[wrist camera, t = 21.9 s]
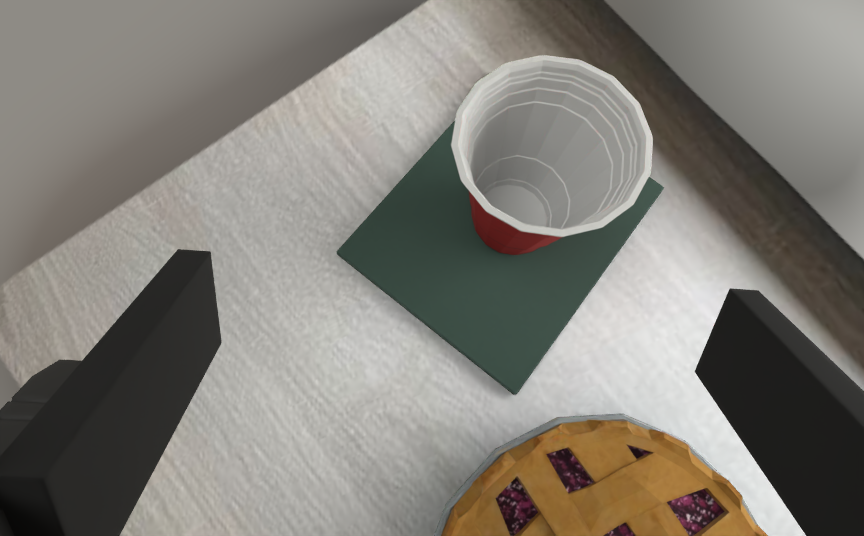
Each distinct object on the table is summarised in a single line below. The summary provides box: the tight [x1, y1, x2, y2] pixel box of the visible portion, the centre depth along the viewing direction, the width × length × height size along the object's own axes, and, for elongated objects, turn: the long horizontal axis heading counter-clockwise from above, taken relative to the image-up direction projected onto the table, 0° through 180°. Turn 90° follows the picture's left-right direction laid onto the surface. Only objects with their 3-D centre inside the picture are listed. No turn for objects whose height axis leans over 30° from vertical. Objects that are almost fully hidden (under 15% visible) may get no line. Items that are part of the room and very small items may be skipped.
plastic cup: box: [451, 55, 653, 255], centre depth 34 cm, size 11×11×12 cm
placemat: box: [337, 121, 664, 395], centre depth 40 cm, size 16×20×1 cm
